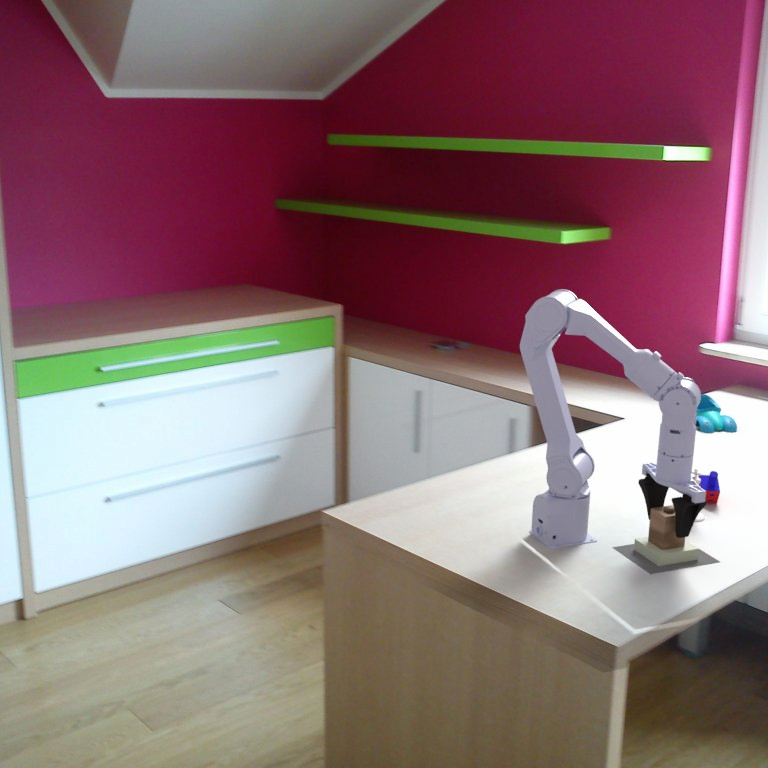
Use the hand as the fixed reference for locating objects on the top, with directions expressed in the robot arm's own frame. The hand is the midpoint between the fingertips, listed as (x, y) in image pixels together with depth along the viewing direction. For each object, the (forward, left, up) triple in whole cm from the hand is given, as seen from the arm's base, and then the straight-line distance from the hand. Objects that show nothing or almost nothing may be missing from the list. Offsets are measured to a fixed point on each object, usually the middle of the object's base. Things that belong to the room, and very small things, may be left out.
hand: (668, 527), depth 168 cm
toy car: (+58, +63, -6) cm, 86 cm away
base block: (0, 0, -5) cm, 5 cm away
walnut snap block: (0, 0, -3) cm, 3 cm away
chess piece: (+15, +12, -6) cm, 20 cm away
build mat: (0, 0, -5) cm, 5 cm away
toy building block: (+24, +19, -6) cm, 31 cm away
